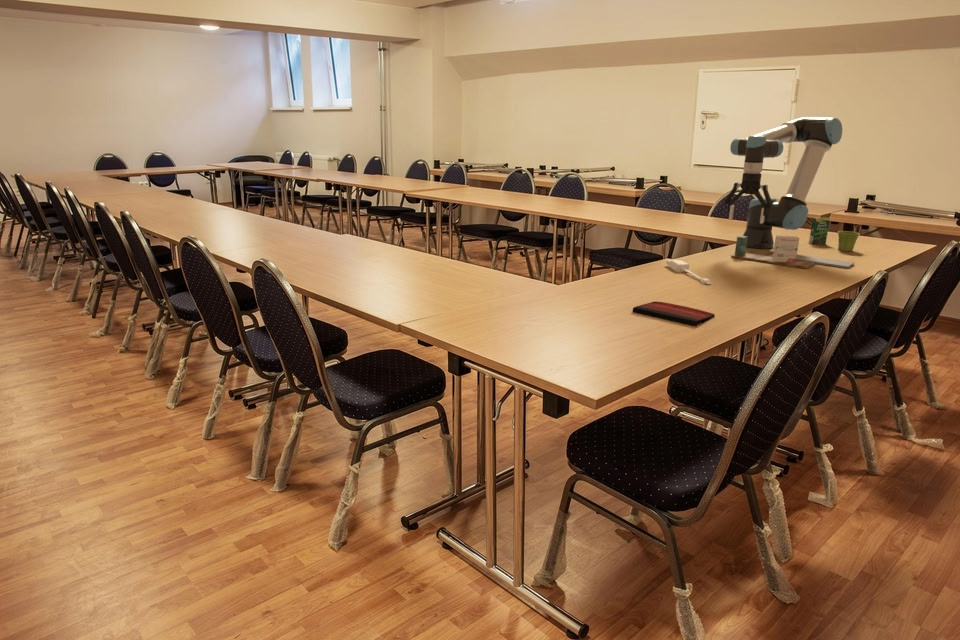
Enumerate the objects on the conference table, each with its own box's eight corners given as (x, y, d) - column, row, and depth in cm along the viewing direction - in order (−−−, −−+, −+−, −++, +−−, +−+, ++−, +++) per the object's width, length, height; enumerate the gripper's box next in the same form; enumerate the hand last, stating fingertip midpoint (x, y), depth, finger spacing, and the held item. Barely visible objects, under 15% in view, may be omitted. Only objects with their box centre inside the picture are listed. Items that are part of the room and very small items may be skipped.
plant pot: (838, 247, 325) (842, 230, 322) (859, 250, 318) (862, 233, 315) (831, 250, 318) (834, 232, 316) (852, 253, 312) (855, 235, 309)
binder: (696, 320, 195) (632, 306, 208) (695, 328, 195) (631, 314, 208) (717, 312, 207) (655, 299, 220) (716, 319, 207) (654, 306, 220)
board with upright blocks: (730, 257, 295) (733, 237, 292) (739, 253, 303) (742, 234, 301) (807, 268, 275) (810, 247, 273) (814, 264, 284) (818, 244, 281)
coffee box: (811, 244, 332) (816, 218, 328) (808, 243, 335) (812, 217, 331) (826, 244, 333) (830, 218, 329) (822, 243, 336) (826, 217, 332)
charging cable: (702, 288, 245) (703, 279, 244) (665, 265, 275) (666, 257, 274) (714, 287, 246) (716, 279, 245) (676, 265, 276) (677, 257, 275)
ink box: (792, 262, 287) (797, 235, 284) (795, 265, 283) (800, 237, 279) (771, 261, 289) (776, 234, 285) (773, 263, 284) (778, 236, 281)
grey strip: (769, 256, 298) (772, 237, 295) (777, 253, 306) (780, 234, 303) (847, 268, 278) (851, 247, 276) (854, 264, 286) (857, 244, 284)
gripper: (720, 171, 292) (715, 219, 298) (779, 175, 276) (772, 225, 283) (727, 170, 297) (721, 217, 304) (785, 173, 282) (777, 223, 288)
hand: (745, 221), depth 293 cm, fingers open, 13 cm apart
